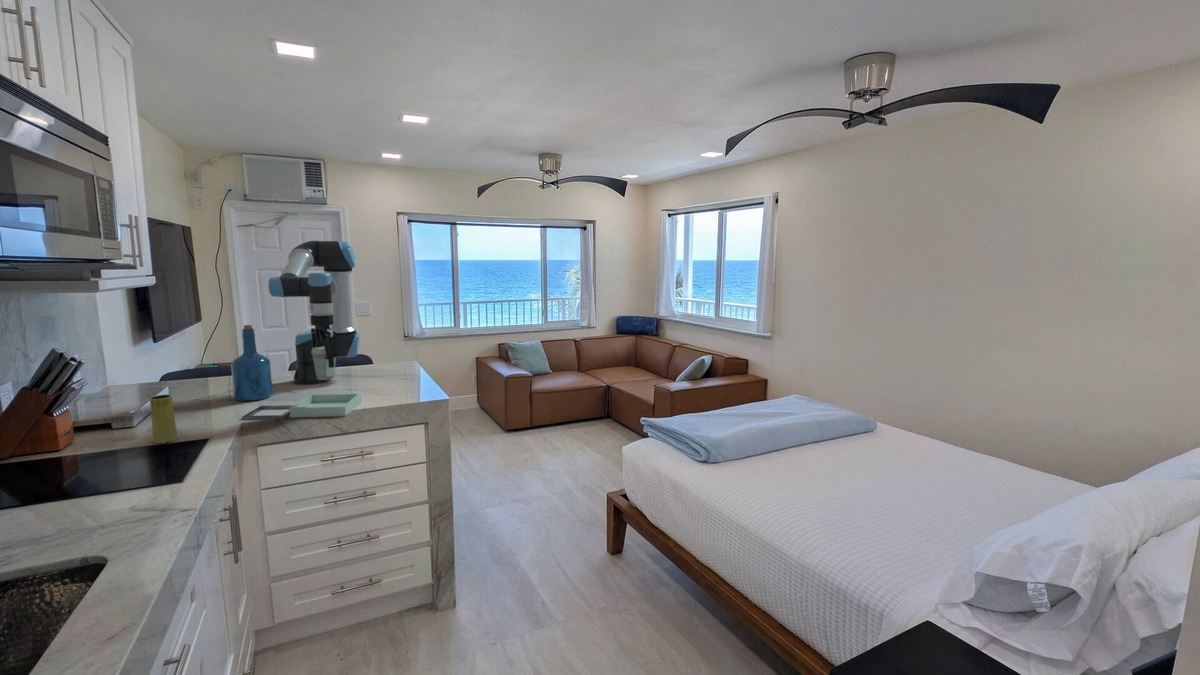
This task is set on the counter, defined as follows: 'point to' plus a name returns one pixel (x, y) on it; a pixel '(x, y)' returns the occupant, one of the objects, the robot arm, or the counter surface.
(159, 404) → the vase
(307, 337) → the robot arm
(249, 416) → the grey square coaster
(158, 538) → the counter surface
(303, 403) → the bin
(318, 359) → the coffee cup
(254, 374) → the wine bottle
